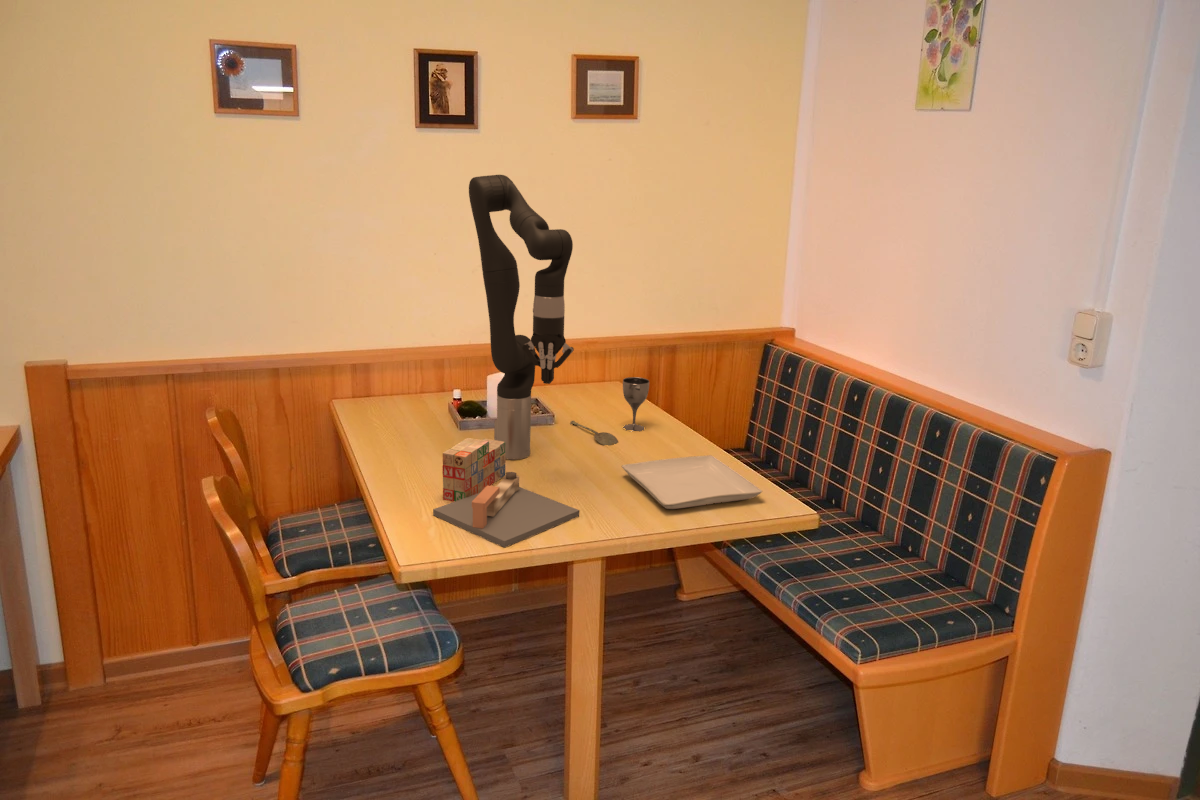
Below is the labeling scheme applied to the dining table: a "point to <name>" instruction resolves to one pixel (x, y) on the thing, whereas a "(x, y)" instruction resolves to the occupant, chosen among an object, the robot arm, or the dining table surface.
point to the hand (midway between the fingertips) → (547, 382)
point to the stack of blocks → (472, 467)
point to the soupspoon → (600, 436)
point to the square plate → (691, 481)
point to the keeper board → (506, 515)
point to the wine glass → (635, 397)
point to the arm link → (504, 492)
